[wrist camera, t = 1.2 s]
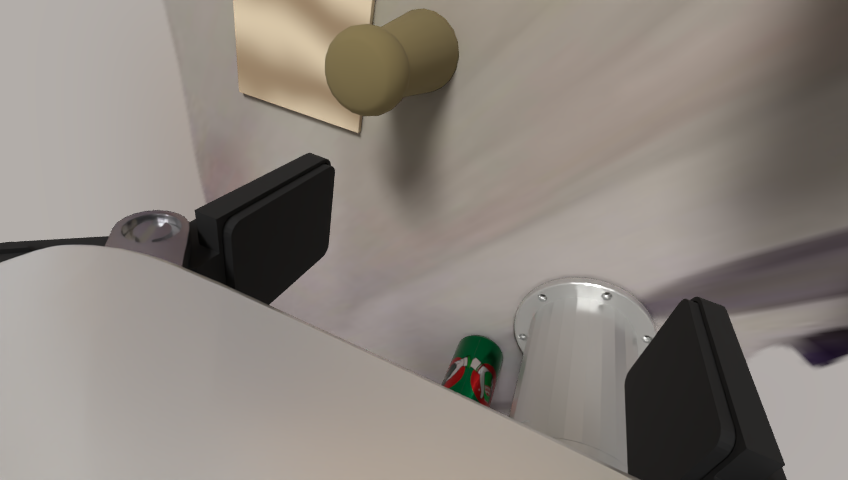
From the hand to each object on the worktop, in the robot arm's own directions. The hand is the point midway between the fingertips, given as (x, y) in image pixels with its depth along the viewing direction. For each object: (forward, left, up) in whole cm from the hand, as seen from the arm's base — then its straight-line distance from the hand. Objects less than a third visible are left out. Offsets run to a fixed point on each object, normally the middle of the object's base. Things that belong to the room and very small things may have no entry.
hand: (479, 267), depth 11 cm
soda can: (-28, -2, -24) cm, 37 cm away
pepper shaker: (0, +11, -24) cm, 27 cm away
